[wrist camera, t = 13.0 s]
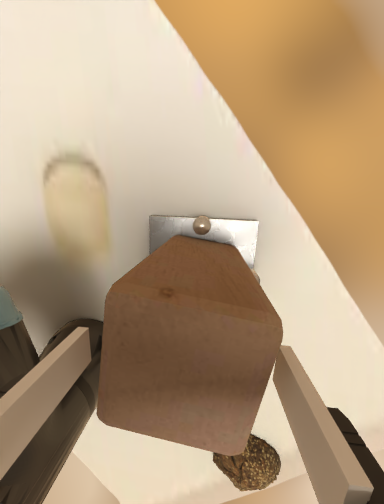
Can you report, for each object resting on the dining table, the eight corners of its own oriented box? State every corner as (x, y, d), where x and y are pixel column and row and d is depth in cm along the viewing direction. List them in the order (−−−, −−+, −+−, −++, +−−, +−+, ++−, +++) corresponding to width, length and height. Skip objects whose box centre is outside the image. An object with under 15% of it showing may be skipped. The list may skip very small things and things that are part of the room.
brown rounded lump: (286, 459, 40) (297, 494, 35) (239, 482, 42) (243, 517, 38) (246, 419, 38) (251, 449, 34) (200, 445, 41) (198, 477, 36)
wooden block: (173, 232, 29) (97, 285, 10) (239, 245, 29) (296, 328, 9) (163, 292, 32) (88, 429, 12) (224, 305, 31) (245, 469, 12)
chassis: (150, 309, 34) (141, 324, 30) (149, 212, 30) (139, 213, 26) (247, 318, 33) (252, 335, 29) (259, 218, 29) (268, 220, 25)
